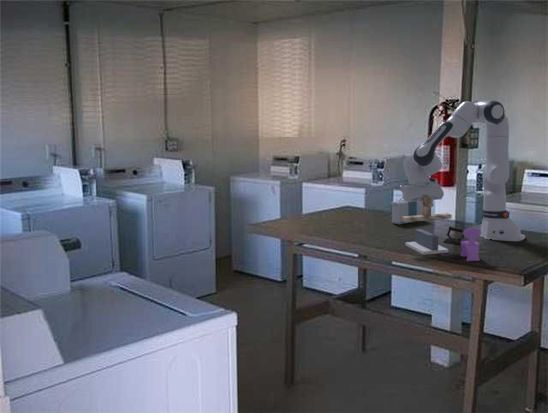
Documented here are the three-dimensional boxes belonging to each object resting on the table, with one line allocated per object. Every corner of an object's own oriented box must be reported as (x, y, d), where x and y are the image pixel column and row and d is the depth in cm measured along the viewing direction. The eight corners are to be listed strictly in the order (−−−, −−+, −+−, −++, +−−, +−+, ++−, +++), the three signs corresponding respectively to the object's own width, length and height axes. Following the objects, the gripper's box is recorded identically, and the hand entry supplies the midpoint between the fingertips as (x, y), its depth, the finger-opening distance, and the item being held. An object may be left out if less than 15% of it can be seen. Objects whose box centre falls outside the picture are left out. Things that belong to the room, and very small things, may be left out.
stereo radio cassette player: (399, 225, 357) (400, 191, 354) (389, 223, 364) (390, 190, 360) (425, 220, 368) (425, 188, 365) (414, 219, 375) (415, 186, 372)
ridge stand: (405, 245, 308) (405, 229, 307) (429, 243, 311) (429, 228, 310) (423, 254, 289) (423, 238, 288) (448, 252, 292) (448, 236, 290)
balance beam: (447, 217, 302) (448, 193, 300) (451, 218, 298) (452, 194, 296) (401, 220, 297) (402, 196, 295) (405, 222, 293) (405, 197, 291)
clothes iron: (449, 241, 318) (454, 223, 315) (468, 249, 310) (474, 231, 307) (442, 242, 313) (447, 223, 310) (461, 250, 305) (467, 232, 303)
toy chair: (475, 255, 285) (476, 224, 283) (482, 260, 277) (483, 227, 274) (457, 256, 285) (458, 224, 283) (464, 261, 276) (465, 228, 274)
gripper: (401, 181, 299) (409, 203, 291) (439, 178, 303) (449, 201, 296) (397, 188, 304) (405, 211, 296) (435, 186, 308) (444, 208, 301)
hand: (427, 206), depth 296 cm, fingers closed on balance beam, 3 cm apart
